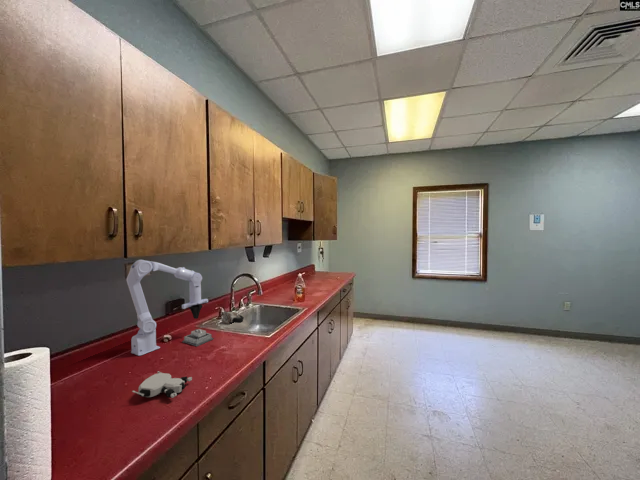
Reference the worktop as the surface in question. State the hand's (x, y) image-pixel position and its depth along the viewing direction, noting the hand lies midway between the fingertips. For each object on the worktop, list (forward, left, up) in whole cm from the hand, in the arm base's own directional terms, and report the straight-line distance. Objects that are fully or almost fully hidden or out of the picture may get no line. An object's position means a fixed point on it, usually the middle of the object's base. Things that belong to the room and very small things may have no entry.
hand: (195, 318), depth 139 cm
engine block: (-4, -7, -9) cm, 12 cm away
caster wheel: (+26, -1, -10) cm, 28 cm away
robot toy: (-37, -36, -10) cm, 53 cm away
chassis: (-4, -7, -10) cm, 12 cm away
